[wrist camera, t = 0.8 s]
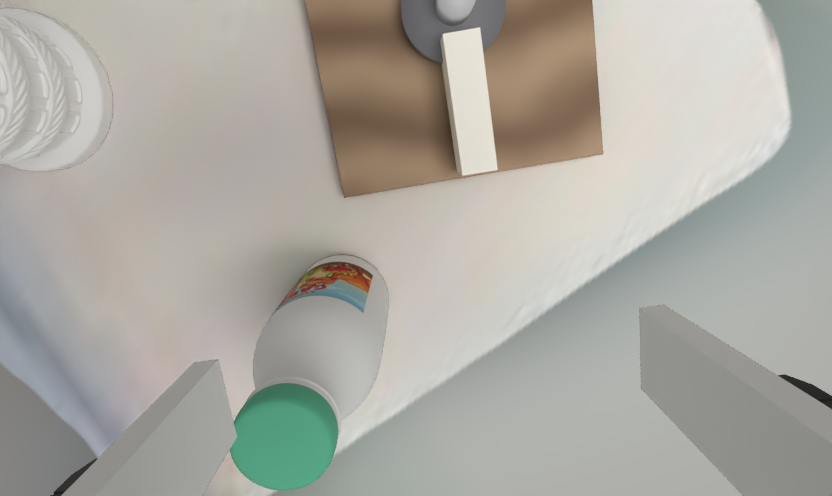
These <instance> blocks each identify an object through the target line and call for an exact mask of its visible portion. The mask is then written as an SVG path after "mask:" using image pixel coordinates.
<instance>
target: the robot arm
mask: <svg viewBox="0 0 832 496" xmlns="http://www.w3.org/2000/svg"><path fill="white" fill-rule="evenodd" d="M639 315H640V316H639V318H640V362H641V363H640V367H641V389H642V390H643V391H644V392H645V393H646V394H647V395H648V396H649V397H650V398H651V400H653V402H654V403H655V404H656V405H657V406H658V407H659V408H660V409H661V410H662V411H663V412H664V413H665V414H666V415H667V416H668V418H670V420H671V421H672V422H673V423H674V424H675V425H676V426H677V427H678V428H679V429H680V430H681V431H682V432H683V433H684V434H685V435H686V436H687V437H688V439H690V441H691V442H692V443H693V444H694V445H695V446H696V447H697V448H698V449H699V450H700V451H701V452H702V453H703V454H704V455H705V456H706V457H707V459H708V460H709V461H710V462H711V463H712V464H713V465H714V466H715V467H716V468H717V469H718V470H719V471H720V472H721V473H722V474H723V475H724V476H725V477H726V478H727V480H728V481H729V482H730V483H731V484H732V485H733V486H734V487H735V488H736V489H737V490H738V491H739V492H740V493H741V494H742V495H743V496H832V396H831V395H829V394H827V393H826V392H824V391H822V390H821V389H819V388H817V387H816V386H814V385H812V384H809V383H807V382H804V381H801V380H798V379H795V378H793V377H790V376H787V375H776V374H774V373H773V372H771V371H770V370H768V369H766V368H765V367H763V366H762V365H760V364H759V363H757V362H755V361H754V360H752V359H751V358H749V357H747V356H746V355H744V354H743V353H741V352H739V351H738V350H736V349H735V348H733V347H731V346H730V345H728V344H726V343H725V342H723V341H722V340H720V339H718V338H717V337H715V336H714V335H712V334H710V333H709V332H707V331H706V330H704V329H702V328H701V327H699V326H698V325H696V324H694V323H693V322H691V321H690V320H688V319H686V318H685V317H683V316H682V315H680V314H678V313H677V312H675V311H674V310H672V309H670V308H669V307H667V306H666V305H657V306H649V307H641V308H639ZM236 438H237V434H236V430H235V426H234V422H233V418H232V413H231V409H230V405H229V401H228V397H227V393H226V388H225V384H224V380H223V376H222V372H221V368H220V363H219V359H218V360H210V361H202V362H194V363H193V364H192V365H191V366H190V367H189V368H188V369H187V370H186V371H185V372H184V373H183V374H182V375H181V376H180V377H179V378H178V379H177V380H176V381H175V382H174V383H173V384H172V385H171V386H170V387H169V388H168V389H167V390H166V391H165V392H164V393H163V394H162V395H161V396H160V397H159V398H158V399H157V400H156V401H155V402H154V403H153V404H152V405H151V406H150V407H149V408H148V409H147V410H146V411H145V412H144V413H143V414H142V415H141V416H140V417H139V418H138V419H137V420H136V421H135V422H134V423H133V424H132V425H131V426H130V427H129V428H128V429H127V430H126V431H125V432H124V433H123V434H122V435H121V436H120V437H119V438H118V439H117V440H116V441H115V442H114V443H113V444H112V445H111V446H110V447H109V448H108V449H107V450H106V451H105V452H104V453H103V454H102V455H101V456H100V457H99V458H98V459H95V460H93V461H92V462H90V463H89V464H87V465H86V466H84V467H83V468H81V469H80V470H78V471H77V472H75V473H74V474H72V475H71V476H70V477H69V478H68V479H67V480H66V481H65V482H64V483H63V484H62V485H61V486H60V487H59V488H58V489H57V490H56V491H55V492H54V495H51V496H202V495H203V494H204V492H205V490H206V489H207V487H208V485H209V483H210V482H211V480H212V478H213V477H214V475H215V473H216V472H217V470H218V468H219V467H220V465H221V463H222V462H223V460H224V458H225V457H226V455H227V453H228V452H229V450H230V448H231V447H232V445H233V443H234V441H235V440H236Z"/></svg>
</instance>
